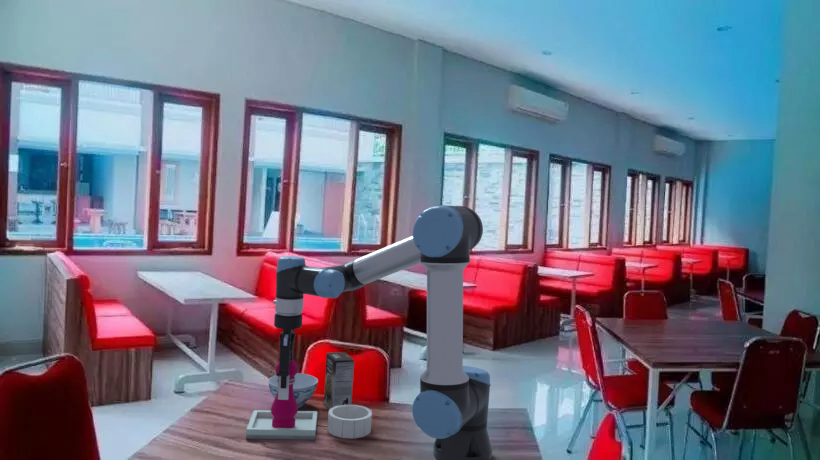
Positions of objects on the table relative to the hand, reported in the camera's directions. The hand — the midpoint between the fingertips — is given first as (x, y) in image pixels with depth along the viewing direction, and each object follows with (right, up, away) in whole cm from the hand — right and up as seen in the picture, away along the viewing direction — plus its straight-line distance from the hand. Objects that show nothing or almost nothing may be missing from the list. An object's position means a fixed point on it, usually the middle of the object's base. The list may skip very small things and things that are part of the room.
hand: (284, 392), depth 167 cm
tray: (-1, -10, +1) cm, 10 cm away
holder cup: (+18, -11, +3) cm, 21 cm away
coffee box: (+12, -10, +20) cm, 25 cm away
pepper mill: (0, -9, 0) cm, 9 cm away
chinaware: (-2, -9, +19) cm, 21 cm away
